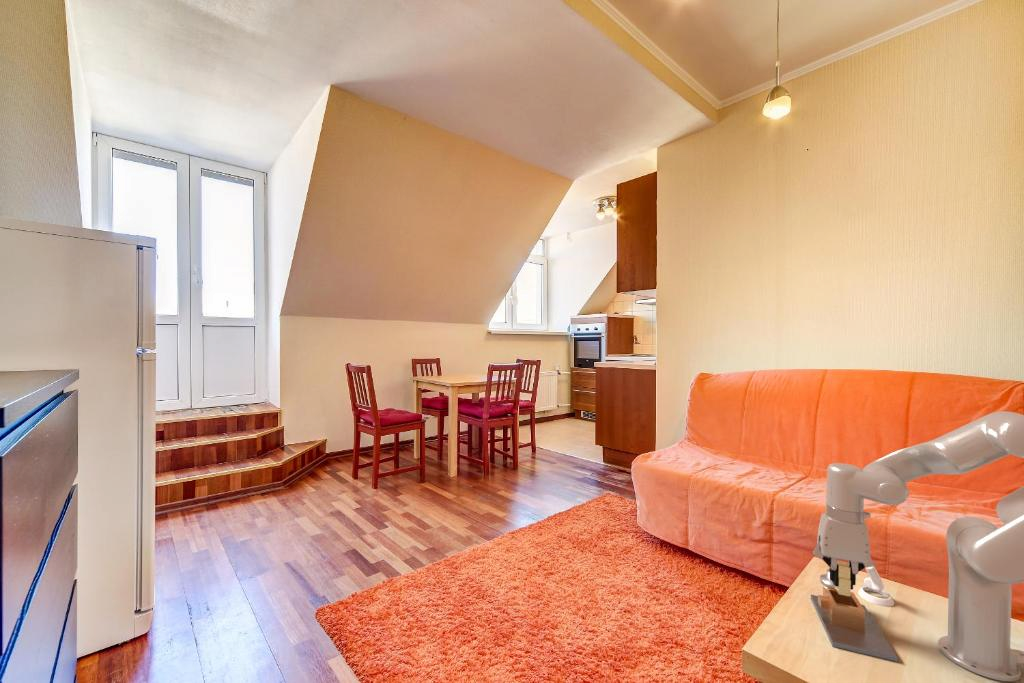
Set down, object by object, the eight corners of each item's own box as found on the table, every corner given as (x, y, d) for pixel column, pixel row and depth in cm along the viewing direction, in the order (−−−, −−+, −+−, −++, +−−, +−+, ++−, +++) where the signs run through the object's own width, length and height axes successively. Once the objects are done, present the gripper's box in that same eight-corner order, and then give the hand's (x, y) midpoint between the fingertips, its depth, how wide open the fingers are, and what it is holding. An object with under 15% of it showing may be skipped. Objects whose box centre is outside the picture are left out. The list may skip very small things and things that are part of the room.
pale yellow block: (845, 587, 110) (845, 561, 110) (850, 596, 107) (851, 568, 107) (833, 585, 111) (834, 559, 111) (838, 594, 108) (839, 566, 108)
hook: (847, 582, 118) (848, 560, 122) (861, 610, 121) (862, 587, 125) (882, 588, 112) (882, 565, 117) (896, 617, 115) (895, 593, 120)
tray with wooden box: (861, 606, 116) (862, 572, 116) (897, 662, 96) (898, 621, 96) (809, 595, 120) (809, 563, 120) (832, 646, 100) (833, 607, 100)
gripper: (877, 513, 109) (875, 585, 109) (803, 503, 115) (801, 570, 116) (890, 525, 102) (887, 601, 102) (810, 513, 108) (808, 585, 109)
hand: (842, 584), depth 109 cm, fingers closed on pale yellow block, 2 cm apart
